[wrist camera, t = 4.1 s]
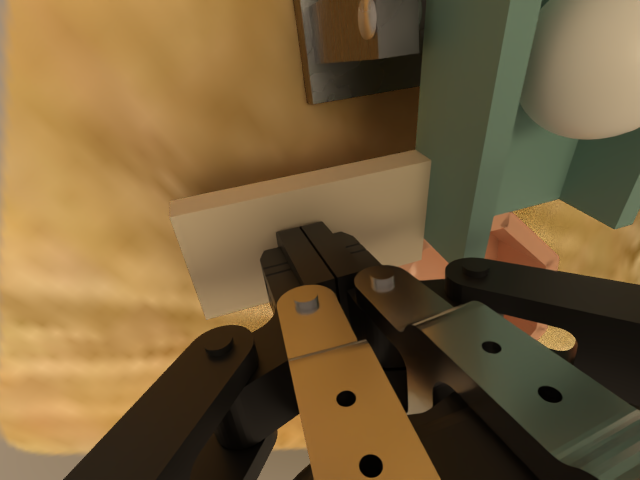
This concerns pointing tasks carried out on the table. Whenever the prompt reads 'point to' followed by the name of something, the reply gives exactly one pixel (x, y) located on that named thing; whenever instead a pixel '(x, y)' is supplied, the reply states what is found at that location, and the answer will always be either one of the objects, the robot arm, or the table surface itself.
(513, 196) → the chute
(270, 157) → the table surface
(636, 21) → the ball
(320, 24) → the chute stand
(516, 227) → the pink octagonal bowl
